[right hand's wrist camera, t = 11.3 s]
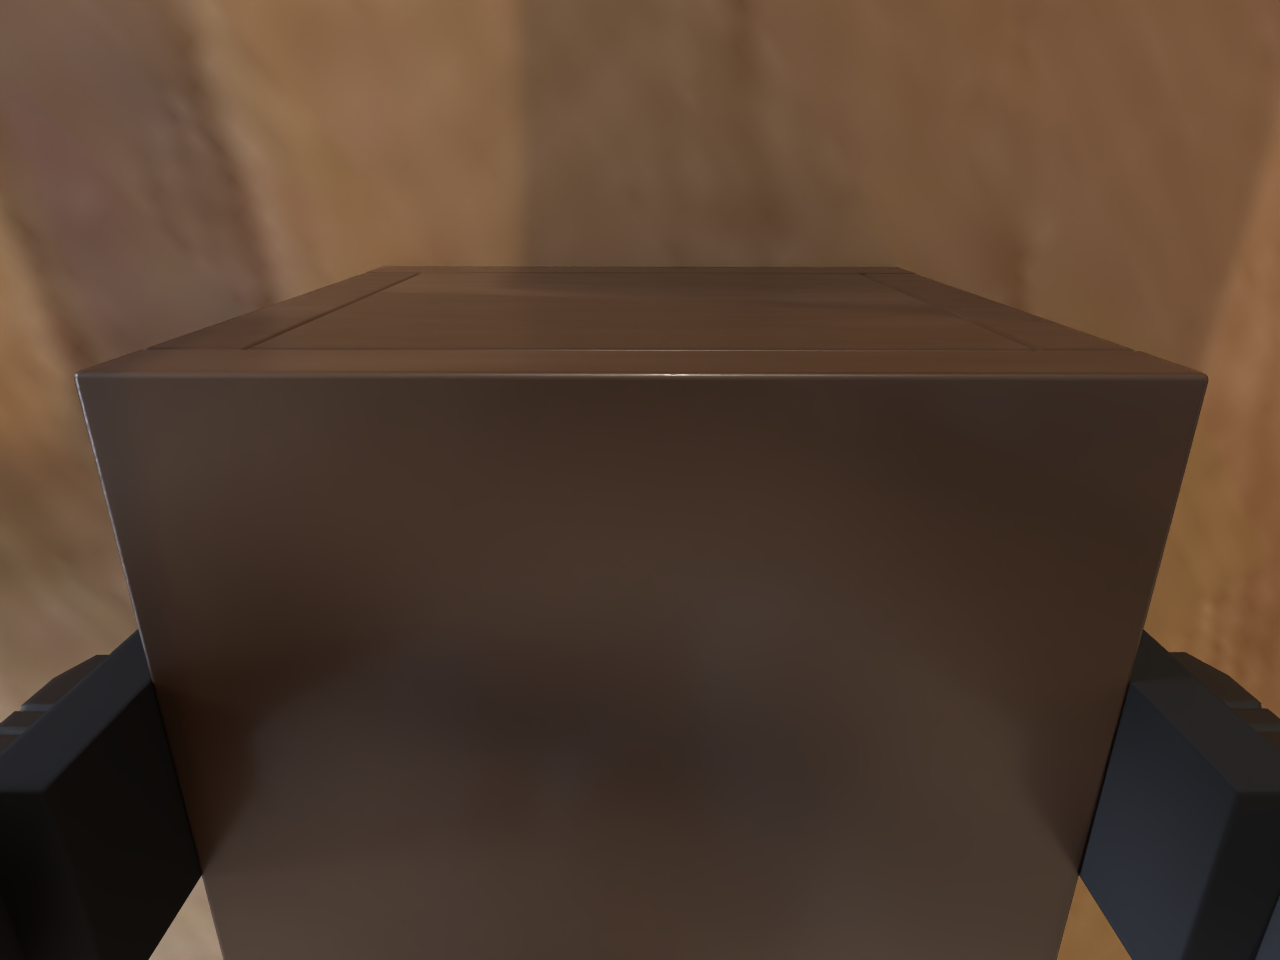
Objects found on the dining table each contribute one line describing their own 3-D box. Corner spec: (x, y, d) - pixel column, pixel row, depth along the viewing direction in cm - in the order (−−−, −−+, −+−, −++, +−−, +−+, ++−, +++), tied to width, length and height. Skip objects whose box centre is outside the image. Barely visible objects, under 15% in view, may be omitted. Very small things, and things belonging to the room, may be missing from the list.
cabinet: (813, 1014, 23) (916, 1502, 15) (464, 1014, 23) (361, 1502, 15) (900, 267, 16) (1214, 373, 7) (381, 266, 16) (69, 372, 7)
